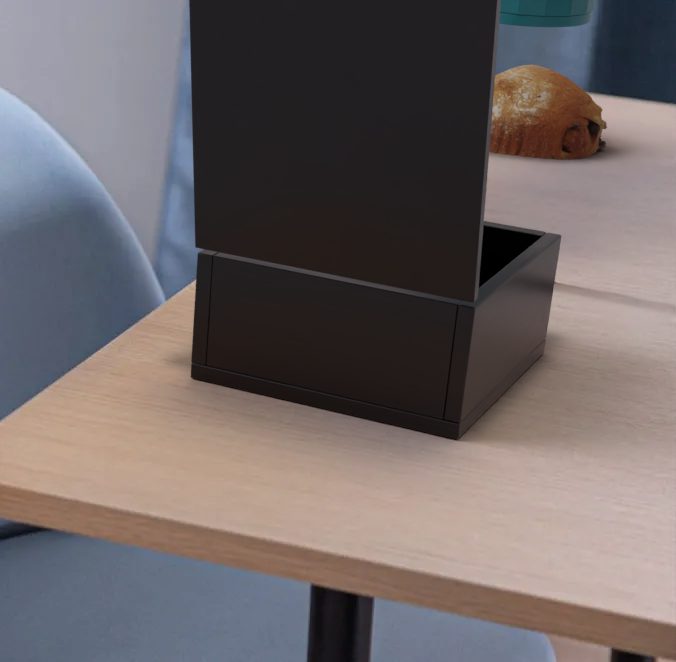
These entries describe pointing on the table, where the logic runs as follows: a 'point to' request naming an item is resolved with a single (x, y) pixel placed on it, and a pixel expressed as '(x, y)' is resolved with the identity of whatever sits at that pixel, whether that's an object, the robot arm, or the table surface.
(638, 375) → the table surface
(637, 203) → the table surface
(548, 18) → the crock
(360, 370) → the chest
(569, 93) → the bread roll
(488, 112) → the chest lid
